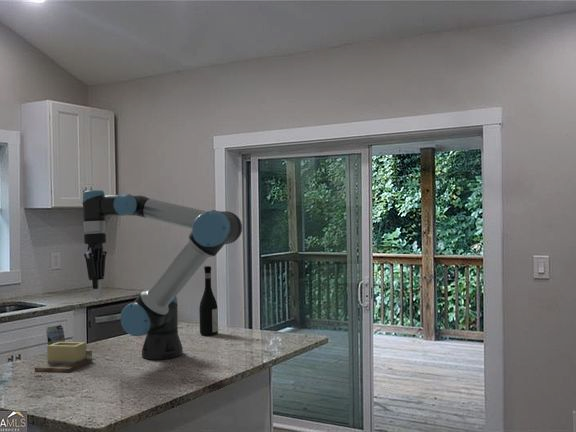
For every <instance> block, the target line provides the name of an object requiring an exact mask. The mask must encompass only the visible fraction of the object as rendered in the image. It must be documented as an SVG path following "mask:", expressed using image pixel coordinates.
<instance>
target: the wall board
mask: <svg viewBox="0 0 576 432" xmlns="http://www.w3.org/2000/svg"><path fill="white" fill-rule="evenodd" d="M86 354H87V359H85V360H83V361H81V362H79V363H76V364H68V363H48V361H47V362H45V363H43V364H41V365H38V366H35V367H34V372H45V373H46V372H49V373H50V372H51V373H54V372H55V373H72V372H73V371H76V370H78V369H80V368H82V367H83V366H86V365H88V364H90V363H92V362H93V349H86Z"/></svg>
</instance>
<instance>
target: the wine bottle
mask: <svg viewBox="0 0 576 432" xmlns="http://www.w3.org/2000/svg"><path fill="white" fill-rule="evenodd" d="M203 268H204V291H203V294H202V297H201V299H200V301H199V302H200V303H199V333H200V335H201V336H205V337H211V336H215V335H218V332H219V312H218V303H217V300H216V298H215V295H214V293H213V289H212V266H209V265H206V266H203Z"/></svg>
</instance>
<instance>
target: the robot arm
mask: <svg viewBox="0 0 576 432" xmlns="http://www.w3.org/2000/svg"><path fill="white" fill-rule="evenodd" d="M82 210H83V224H82V225H83V232H84V235H83V239H84V241H83V242H84V244H85V245H87V252H84V253H83V256H84V258H85V262H86V263H85V264H86V270H87V276H88V280H89V281H91V283H92V285H91V287H92V299H102V297H103V296H102V294H103V293H102V280H104V278H105V269H106V258H107V257H106V256H107V253H108V252H107V250H104V246H103V244H106V243H107V234H106V233H105V232H106V230H107V228H106V217H115V216H116V217H117V216H118V217H119V216H129V217H130V216H136V217H141V218H145V219H150V220H154V221H157V222H162V223H166V224H170V225H175V226H177V227H178V226H180V227H183V228H187V229H191V231H190V232H189V234H188V235H187V236H188V242H187V243H186V244H185V246H184V247H183V248H182V249H181V250H180V252H179V253H178V254H177V255H176V256H175V258H174V259H173V260H172V261H171V263H170V264H168V266H167V268H166V269H165V270H164V271H163V272H162V274H161V275H160V276H159V277H158V279H157V280H156V281H155V282H154V284H153V285H152V286H151V287H150V288H149V290H143V291H142V292H141V293H140V294H139V295H138V296H137V298H135V300H134V301H133V302H130V303H128V304H126V305H125V306H124V307H123V309H122V310H121V312H120V317H119V319H120V324H121V327H122V329H123V330H124V331H125V332H126V333H127V334H128V335H129V336H133V337H141V336H145V338H144V342H143V344H142V348H141V358H143V359H146V360H167V359H169V360H170V359H174V358H178V357H181V356H183V355H184V353H183V352H184V348H183V344H182V342H181V340H180V337H179V332H178V331H179V330H178V329H179V328H178V327H179V326H178V325H179V324H178V322H179V321H178V297H177V296H178V294H179V293H180V292H181V291H182V290H183V288H184V287H185V286H186V284H187V283H188V282H189V281H190V280H191V279H192V278H193V277H194V275H195V274H196V273H197V271H198V270H199V269H200V268H201V267H202V266H203V264H204V263H205V262H206V261H207V259H209V257H216V256H217V254H218V253H219V252H220V250H221V249H222V248H223V247H224V246H225V245H229V244H232V243H234V242H237V240H238V239H239V238H240V237H241V235H242V232H243V224H242V221H241V219H240V217H239V216H238V215H237V214H235V213H234V212H231V211H221V210H214V209H212V210H208V211H206V210H204V209H203V210H202V209H198V208H193V207H190V206H184V205H181V204H175V203H171V202H168V201H163V200H157V199H154V198H150V197H147V196H144V195H132V194H131V193H130V194H129V193H128V194H127V193H120V194H108V195H106V194H105V192H104V190H101V189H100V190H99V189H97V190H96V189H95V190H93V189H92V190H85V191H84V192H83V193H82Z"/></svg>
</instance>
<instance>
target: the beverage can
mask: <svg viewBox="0 0 576 432" xmlns="http://www.w3.org/2000/svg"><path fill="white" fill-rule="evenodd" d="M45 331H46V339H47V346H48V345H51V344H54V343H57V342H66V338H65V331H64V327H63V326H62V324H55V325H54V324H53V325H50V326H47V327H46V330H45Z"/></svg>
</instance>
